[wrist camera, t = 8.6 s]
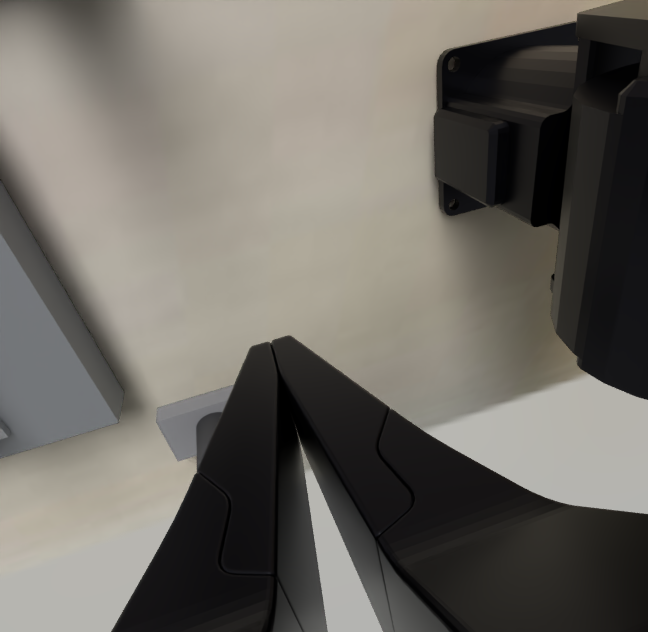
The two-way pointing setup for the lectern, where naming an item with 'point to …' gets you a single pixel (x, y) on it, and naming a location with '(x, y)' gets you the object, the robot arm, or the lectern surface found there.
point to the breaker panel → (44, 350)
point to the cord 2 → (192, 422)
